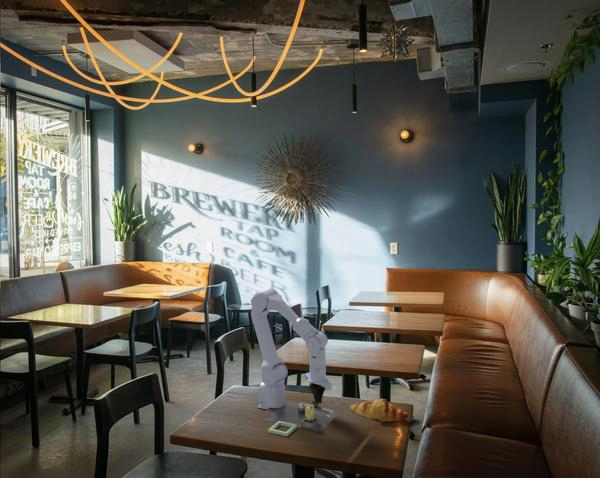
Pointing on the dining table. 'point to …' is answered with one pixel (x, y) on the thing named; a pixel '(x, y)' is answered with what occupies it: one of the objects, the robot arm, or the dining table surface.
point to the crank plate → (301, 417)
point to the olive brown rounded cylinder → (309, 414)
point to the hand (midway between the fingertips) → (318, 403)
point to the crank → (315, 404)
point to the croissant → (379, 410)
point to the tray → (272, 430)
